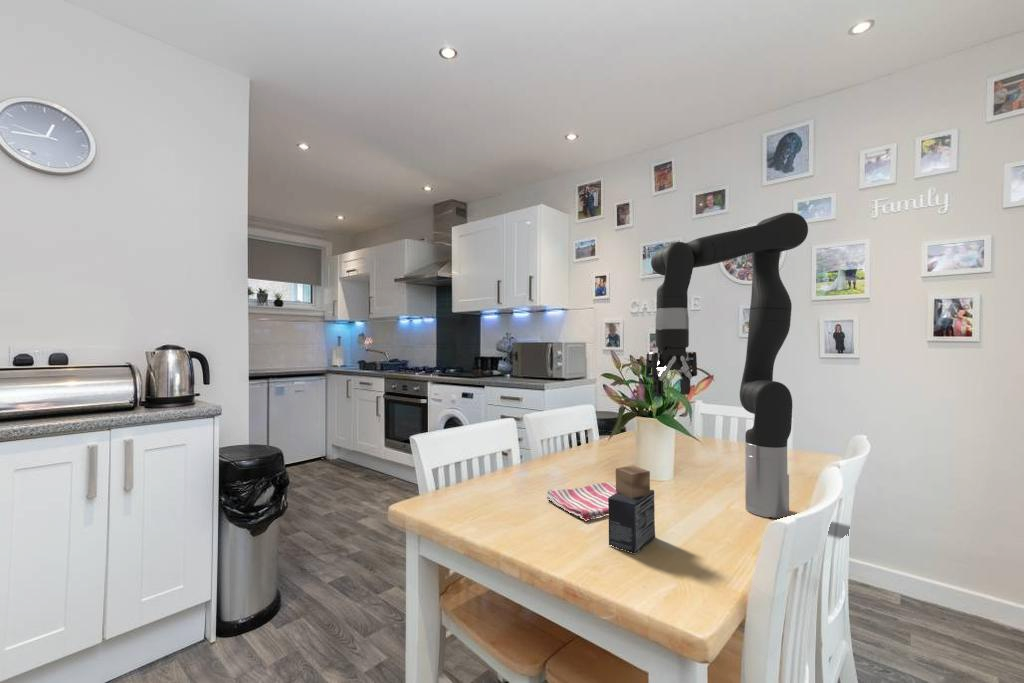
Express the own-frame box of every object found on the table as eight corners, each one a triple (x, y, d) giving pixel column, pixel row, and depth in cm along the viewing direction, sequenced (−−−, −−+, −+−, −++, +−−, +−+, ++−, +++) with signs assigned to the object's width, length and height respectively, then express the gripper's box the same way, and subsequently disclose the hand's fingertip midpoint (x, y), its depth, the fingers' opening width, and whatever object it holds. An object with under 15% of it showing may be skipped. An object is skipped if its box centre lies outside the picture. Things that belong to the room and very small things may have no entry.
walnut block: (633, 487, 98) (633, 465, 98) (649, 494, 93) (649, 471, 94) (615, 491, 96) (615, 468, 96) (632, 498, 91) (631, 474, 91)
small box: (628, 529, 101) (628, 483, 101) (656, 537, 97) (656, 489, 97) (606, 546, 92) (606, 496, 92) (636, 555, 88) (636, 503, 88)
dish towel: (543, 502, 119) (544, 489, 119) (610, 488, 131) (610, 476, 131) (583, 524, 104) (583, 510, 104) (653, 507, 116) (653, 494, 116)
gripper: (681, 328, 112) (681, 392, 112) (638, 327, 106) (638, 395, 106) (705, 327, 105) (706, 395, 105) (661, 326, 99) (661, 398, 99)
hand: (672, 395), depth 105 cm, fingers open, 8 cm apart
